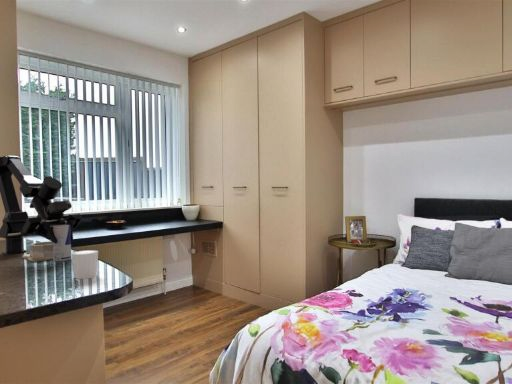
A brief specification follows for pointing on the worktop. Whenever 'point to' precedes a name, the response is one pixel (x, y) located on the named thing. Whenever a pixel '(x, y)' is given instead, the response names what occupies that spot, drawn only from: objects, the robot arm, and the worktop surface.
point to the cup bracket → (40, 251)
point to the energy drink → (62, 243)
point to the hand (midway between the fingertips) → (64, 241)
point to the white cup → (85, 264)
